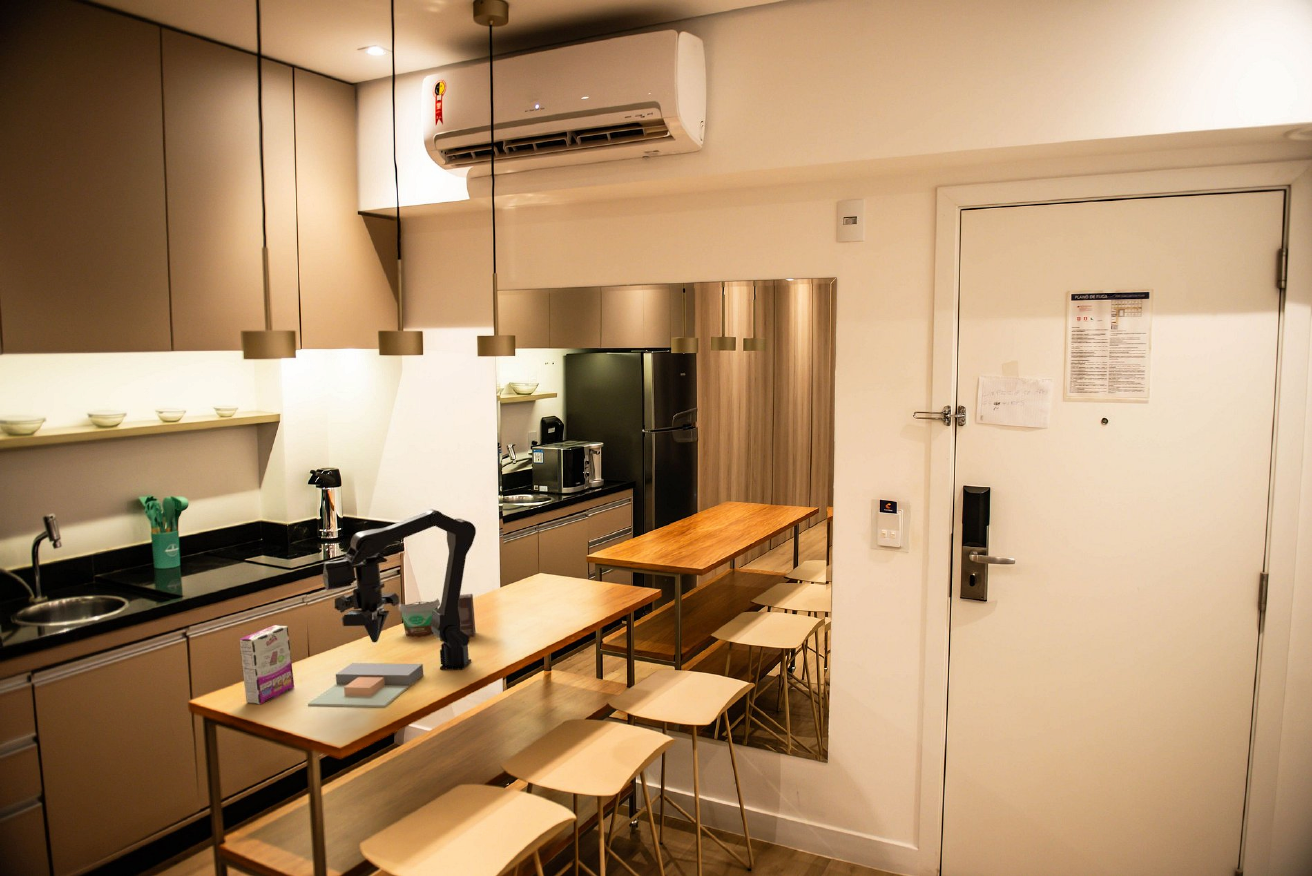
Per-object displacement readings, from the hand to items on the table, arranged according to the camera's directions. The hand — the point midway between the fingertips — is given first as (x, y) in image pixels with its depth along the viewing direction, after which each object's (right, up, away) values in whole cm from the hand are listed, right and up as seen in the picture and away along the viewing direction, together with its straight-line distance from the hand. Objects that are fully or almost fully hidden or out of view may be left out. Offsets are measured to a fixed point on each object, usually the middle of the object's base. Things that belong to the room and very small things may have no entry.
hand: (375, 642), depth 211 cm
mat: (-2, -12, -6) cm, 14 cm away
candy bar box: (-26, -13, -2) cm, 29 cm away
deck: (0, -11, +4) cm, 12 cm away
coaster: (-1, -11, -3) cm, 12 cm away
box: (+14, -8, +38) cm, 41 cm away
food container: (0, -8, +41) cm, 42 cm away
